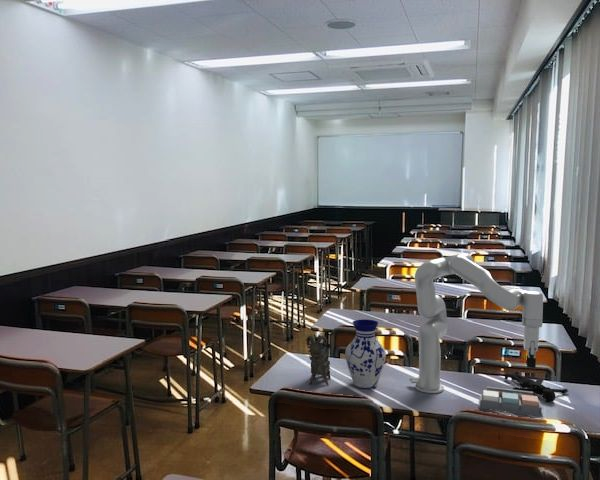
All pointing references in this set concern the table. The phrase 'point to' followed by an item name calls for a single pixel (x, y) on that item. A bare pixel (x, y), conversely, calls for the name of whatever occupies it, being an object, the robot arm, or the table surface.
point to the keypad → (508, 406)
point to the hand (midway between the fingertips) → (530, 365)
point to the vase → (365, 355)
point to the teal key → (509, 398)
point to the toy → (535, 387)
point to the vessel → (319, 357)
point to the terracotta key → (529, 400)
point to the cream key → (491, 395)
